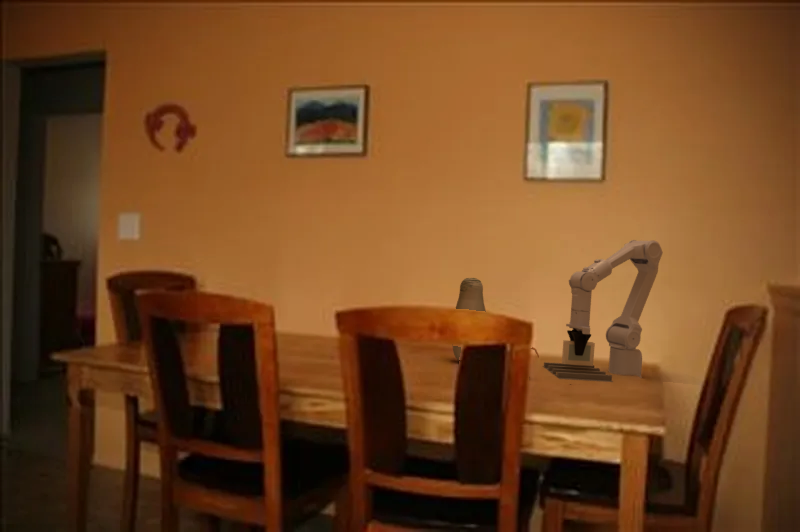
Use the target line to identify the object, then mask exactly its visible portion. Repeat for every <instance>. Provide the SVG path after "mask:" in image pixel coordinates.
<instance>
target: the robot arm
mask: <svg viewBox="0 0 800 532" xmlns="http://www.w3.org/2000/svg"><path fill="white" fill-rule="evenodd" d="M662 256H663V250H662V247H661V244H660V243H659V242H658V241H656V240H637V239H633V240H632V239H631V240H629V241H628V242H627V243H625V244H624V245H623V247H621V248H620V249H618V250H617V251H616V252H614V253H613V254H612V255H610V256H609V257H607V258H606V259H604V258H597V259H594V260H593V263H591V264H590V265H589V266H584V267H583V268H582V270H581V271H575V272H573V274H572V275H571V276H570V279H568V284H569V287H570V288H571V289H570V290H571V291H570V293H571V302H570V303H571V305H570V306H571V307H570V309H571V310H570V318H569V323H565V326H566V327H567V328H568V327H569V329H570V330H569V329H568V330H566V331H567V335H568V337H569V341H574V346H575V355H578V356H583V353H584V350H585V347H586V344H587V342H589V340H590V338H591V337H592V334H591V325H590V320H591V305H592V292H593V290H595V289H596V288H597V285H598V283H599V282H601V281H603V280H605V278H607V277H609V276H610V275H612V274H613V273H612V271H613V269H615V268H616V267H618V266H620V265H621V264H624V263H625V262H627V261H630V262H631V263H632V265H633V266H634V267H635V268H636V269H637V275H636V277H635V279H634V282H633V284H632V286H631V289H630V292H629V294H628V297H627V300H626V302H625V304H624V307H623V310H622V311H621V314H620V316H618V317H616V318H615V319H613V320H612V323H611V324H610V326H609V327H608V328H607V329H606V332H605V339H606V341H607V342H608V347H609V358H608V361H609V362H608V373H610V374H614V375H620V376H636V377H639V378H640V379H642V378H643V377H642V367H643V366H642V365H643V353H642V350H640V349H638V348H637V347H638V346H639V345H640V343H641V339H642V338H641V336H642V335H641V334H642V331H643V328H642V326H641V325H640V323H639V320H640V318H641V315H642V313H643V310H644V308H645V306H646V303H647V300H648V297H649V295H650V292H651V290H652V288H653V285H654V283H655V280H656V278H657V275H658V272H659V265H660V264H659V263H660V261H661V259H662ZM571 329H572V330H571Z"/></svg>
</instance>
